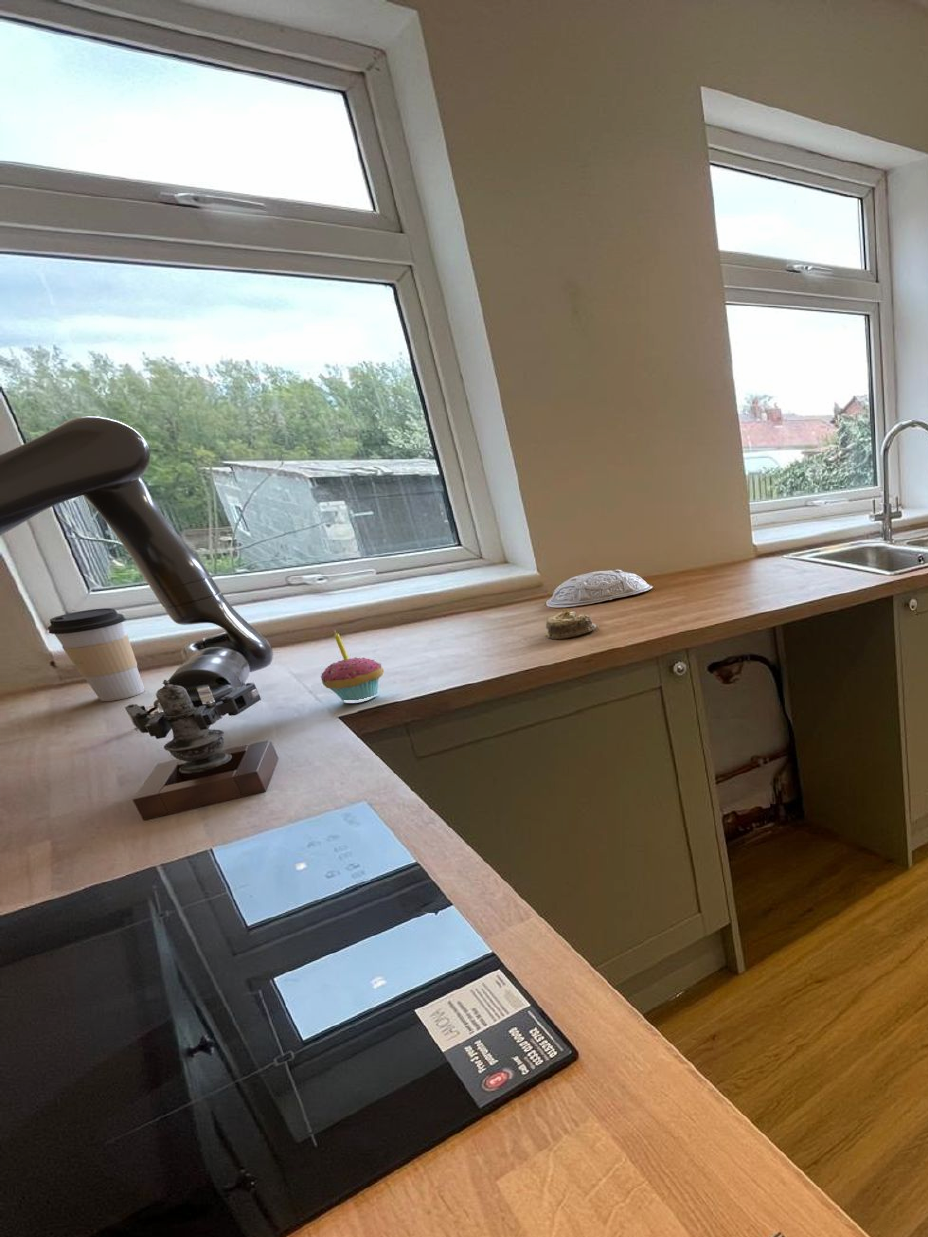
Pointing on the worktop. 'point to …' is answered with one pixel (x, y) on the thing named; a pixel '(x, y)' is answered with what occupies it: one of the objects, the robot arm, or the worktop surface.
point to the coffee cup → (100, 651)
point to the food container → (596, 588)
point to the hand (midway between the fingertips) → (179, 726)
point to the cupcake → (352, 676)
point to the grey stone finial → (189, 732)
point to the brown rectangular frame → (207, 781)
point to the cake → (568, 625)
